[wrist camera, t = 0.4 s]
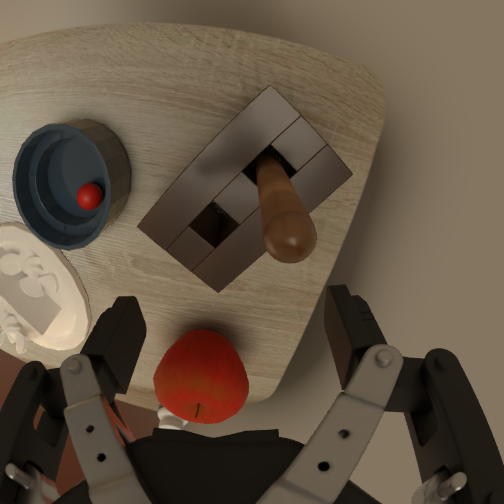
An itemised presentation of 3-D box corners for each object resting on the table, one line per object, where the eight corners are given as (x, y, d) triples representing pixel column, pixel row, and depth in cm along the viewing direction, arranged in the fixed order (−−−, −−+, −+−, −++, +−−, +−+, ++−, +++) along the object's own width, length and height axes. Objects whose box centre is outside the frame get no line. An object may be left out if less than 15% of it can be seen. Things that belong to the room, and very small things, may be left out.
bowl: (27, 184, 31) (0, 199, 25) (74, 97, 26) (45, 98, 21) (95, 249, 35) (75, 272, 30) (155, 168, 31) (136, 181, 26)
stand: (159, 200, 33) (136, 226, 26) (265, 90, 27) (270, 84, 20) (224, 255, 36) (218, 293, 29) (330, 158, 31) (353, 174, 24)
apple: (160, 352, 44) (140, 425, 32) (177, 298, 39) (152, 379, 26) (232, 374, 46) (229, 447, 34) (261, 325, 41) (265, 408, 29)
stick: (250, 156, 31) (252, 248, 11) (264, 142, 30) (295, 209, 10) (264, 170, 31) (290, 283, 12) (279, 156, 31) (333, 248, 11)
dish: (118, 333, 42) (94, 387, 32) (36, 351, 46) (13, 390, 36) (35, 196, 32) (-18, 230, 22) (-30, 252, 35) (-66, 283, 25)
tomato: (80, 194, 31) (67, 202, 28) (93, 174, 30) (79, 181, 27) (98, 210, 32) (86, 219, 30) (111, 190, 31) (99, 199, 29)
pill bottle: (161, 387, 49) (151, 431, 40) (169, 373, 46) (158, 419, 38) (188, 397, 50) (181, 440, 41) (198, 383, 48) (191, 429, 39)
